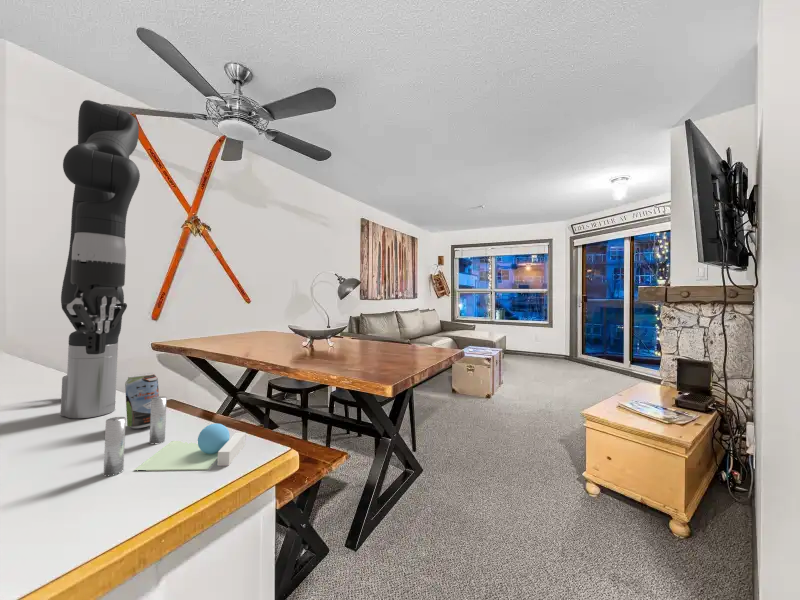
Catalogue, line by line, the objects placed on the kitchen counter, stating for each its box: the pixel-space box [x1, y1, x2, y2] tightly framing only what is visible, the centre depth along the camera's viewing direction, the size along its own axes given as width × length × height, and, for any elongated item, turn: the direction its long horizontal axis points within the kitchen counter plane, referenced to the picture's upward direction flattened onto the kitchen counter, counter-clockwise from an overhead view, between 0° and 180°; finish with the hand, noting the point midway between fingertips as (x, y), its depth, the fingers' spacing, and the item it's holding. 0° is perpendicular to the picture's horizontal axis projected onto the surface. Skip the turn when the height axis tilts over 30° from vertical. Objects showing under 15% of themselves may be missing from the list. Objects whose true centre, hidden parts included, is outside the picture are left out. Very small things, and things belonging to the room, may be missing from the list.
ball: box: [197, 423, 231, 454], centre depth 67 cm, size 6×6×6 cm
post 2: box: [149, 395, 168, 445], centre depth 70 cm, size 3×3×9 cm
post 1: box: [103, 416, 127, 477], centre depth 58 cm, size 3×3×9 cm
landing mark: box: [134, 440, 218, 472], centre depth 65 cm, size 12×12×1 cm
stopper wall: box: [217, 432, 247, 467], centre depth 66 cm, size 2×9×2 cm, turn 7°
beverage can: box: [124, 372, 160, 429], centre depth 78 cm, size 6×7×12 cm
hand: (95, 353), depth 63 cm, fingers closed
